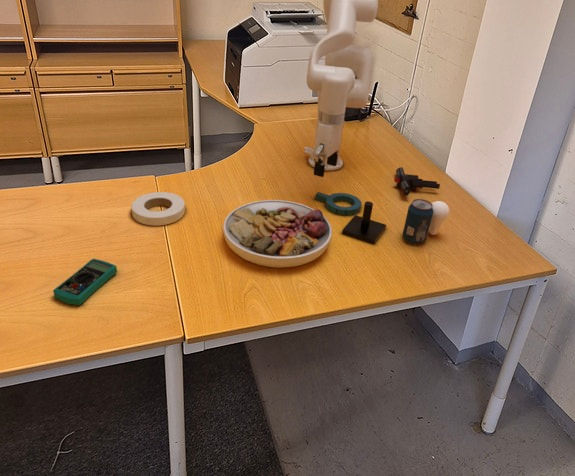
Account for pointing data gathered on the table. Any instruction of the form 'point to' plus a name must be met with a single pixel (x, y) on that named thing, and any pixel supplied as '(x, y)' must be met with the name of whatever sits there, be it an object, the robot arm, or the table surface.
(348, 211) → the ring
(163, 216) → the tape roll
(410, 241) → the soda can
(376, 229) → the ring stand
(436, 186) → the black plastic t-shaped piece
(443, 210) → the lightbulb
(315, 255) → the bowl
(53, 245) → the table surface
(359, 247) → the table surface
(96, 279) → the digital multimeter
